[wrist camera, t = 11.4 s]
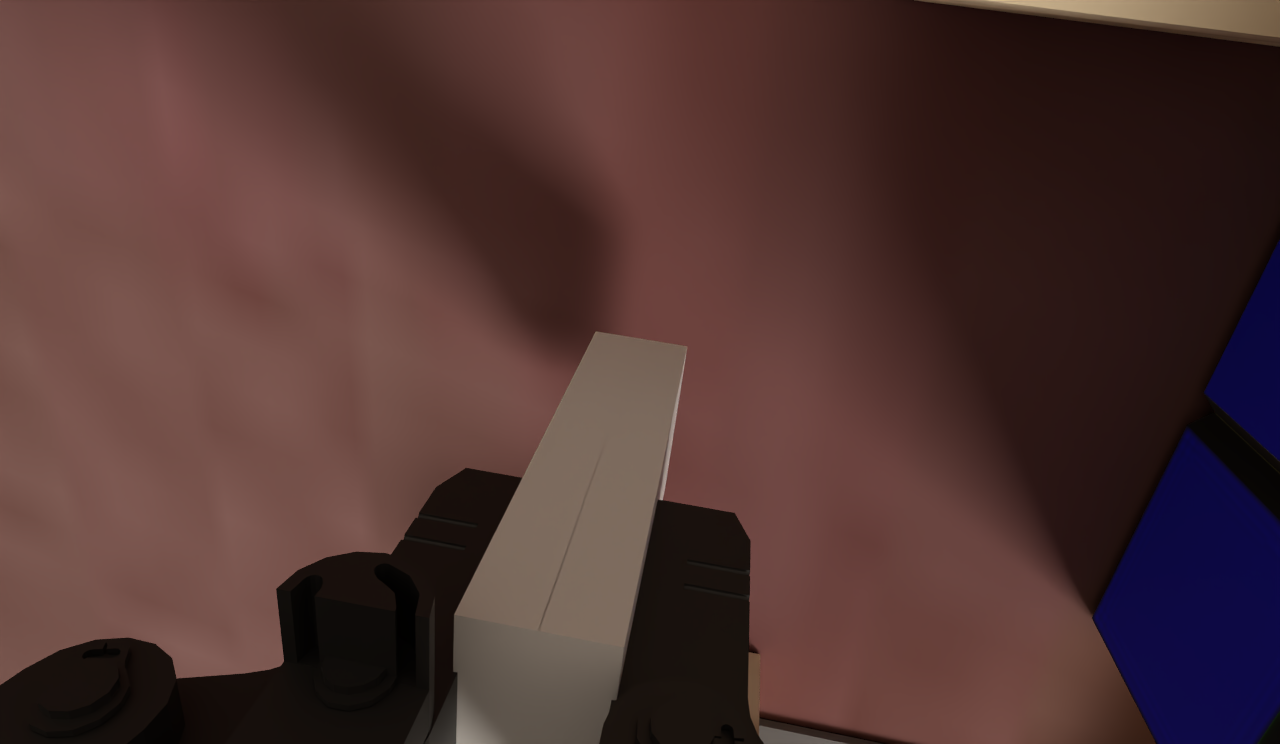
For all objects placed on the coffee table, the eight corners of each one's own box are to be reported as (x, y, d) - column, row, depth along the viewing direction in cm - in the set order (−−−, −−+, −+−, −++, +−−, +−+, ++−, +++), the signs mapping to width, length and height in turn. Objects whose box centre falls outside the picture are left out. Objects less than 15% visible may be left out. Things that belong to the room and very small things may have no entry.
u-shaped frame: (554, 867, 21) (510, 1040, 18) (666, -152, 11) (616, -224, 8) (1162, 1006, 20) (1247, 1222, 17) (1928, -7, 10) (2589, -11, 6)
